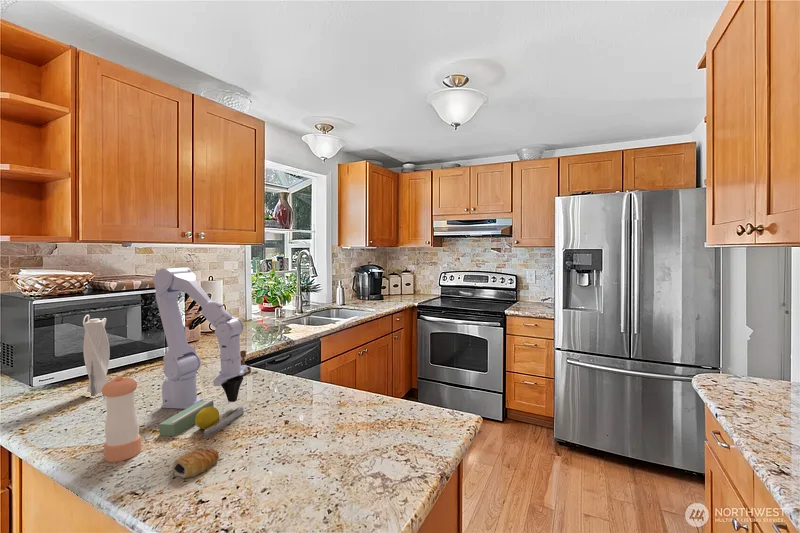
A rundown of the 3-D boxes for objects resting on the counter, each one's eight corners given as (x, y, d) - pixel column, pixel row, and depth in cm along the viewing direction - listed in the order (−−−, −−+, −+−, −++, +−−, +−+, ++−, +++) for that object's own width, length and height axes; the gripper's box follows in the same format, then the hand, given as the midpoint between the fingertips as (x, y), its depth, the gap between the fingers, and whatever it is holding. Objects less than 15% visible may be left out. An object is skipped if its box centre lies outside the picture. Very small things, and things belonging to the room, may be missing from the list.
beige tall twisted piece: (78, 396, 136) (72, 316, 135) (103, 388, 144) (98, 312, 143) (93, 398, 133) (88, 317, 132) (118, 390, 141) (113, 313, 139)
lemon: (221, 424, 112) (206, 436, 104) (203, 418, 113) (186, 429, 105) (227, 406, 112) (212, 416, 104) (209, 400, 113) (193, 409, 105)
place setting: (206, 377, 155) (205, 363, 155) (242, 363, 174) (241, 350, 173) (242, 381, 149) (241, 366, 149) (275, 366, 168) (274, 352, 168)
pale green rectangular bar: (159, 434, 105) (159, 421, 105) (200, 410, 121) (200, 399, 120) (174, 435, 104) (173, 422, 104) (213, 411, 120) (213, 399, 120)
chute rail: (204, 438, 102) (204, 430, 102) (240, 412, 118) (240, 406, 118) (207, 438, 102) (207, 430, 102) (243, 412, 118) (243, 406, 118)
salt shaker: (148, 448, 97) (144, 373, 97) (119, 464, 91) (114, 382, 90) (127, 444, 100) (123, 370, 99) (97, 459, 93) (92, 380, 92)
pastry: (207, 454, 94) (206, 439, 94) (226, 461, 91) (225, 445, 91) (169, 474, 86) (168, 458, 86) (188, 483, 83) (187, 465, 83)
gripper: (227, 365, 113) (229, 411, 114) (255, 352, 128) (256, 393, 128) (206, 364, 115) (208, 410, 115) (235, 351, 129) (237, 392, 130)
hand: (232, 401), depth 122 cm, fingers closed
